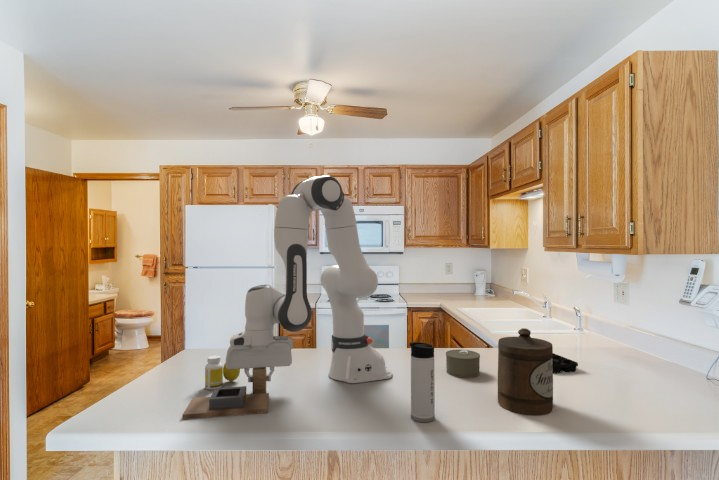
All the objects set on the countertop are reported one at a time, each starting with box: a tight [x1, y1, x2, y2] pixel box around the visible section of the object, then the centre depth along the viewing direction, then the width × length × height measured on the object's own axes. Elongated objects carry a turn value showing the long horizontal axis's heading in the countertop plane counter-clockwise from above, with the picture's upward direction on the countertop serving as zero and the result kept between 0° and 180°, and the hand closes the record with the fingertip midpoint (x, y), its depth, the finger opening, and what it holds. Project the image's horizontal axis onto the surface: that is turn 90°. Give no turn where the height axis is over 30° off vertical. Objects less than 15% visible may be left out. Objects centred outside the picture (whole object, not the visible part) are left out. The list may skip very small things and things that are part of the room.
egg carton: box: [552, 352, 579, 375], centre depth 160 cm, size 18×30×4 cm, turn 24°
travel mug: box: [409, 341, 436, 423], centre depth 109 cm, size 6×7×20 cm
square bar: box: [252, 367, 267, 394], centre depth 128 cm, size 4×4×8 cm
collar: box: [209, 385, 247, 410], centre depth 117 cm, size 9×9×3 cm
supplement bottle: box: [204, 355, 224, 391], centre depth 133 cm, size 5×5×10 cm
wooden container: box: [497, 327, 554, 416], centre depth 118 cm, size 15×15×22 cm
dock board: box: [182, 392, 270, 420], centre depth 117 cm, size 22×12×1 cm, turn 100°
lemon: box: [223, 362, 241, 383], centre depth 138 cm, size 6×6×8 cm
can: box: [445, 349, 481, 379], centre depth 147 cm, size 12×12×7 cm
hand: (259, 381), depth 128 cm, fingers closed on square bar, 4 cm apart
